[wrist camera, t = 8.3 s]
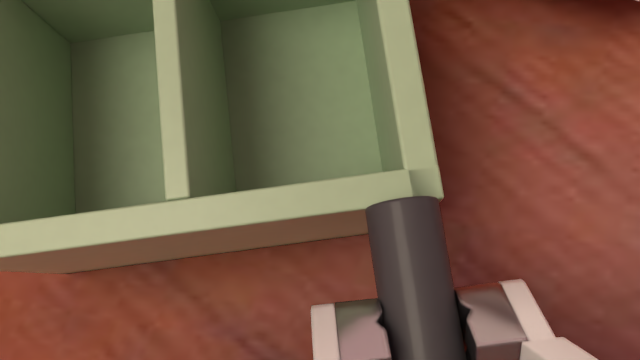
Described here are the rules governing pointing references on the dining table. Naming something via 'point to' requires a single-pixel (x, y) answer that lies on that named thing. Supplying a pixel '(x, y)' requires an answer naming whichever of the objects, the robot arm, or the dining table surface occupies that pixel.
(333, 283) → the dining table surface
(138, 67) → the green shelf unit
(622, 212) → the dining table surface
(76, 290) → the dining table surface
